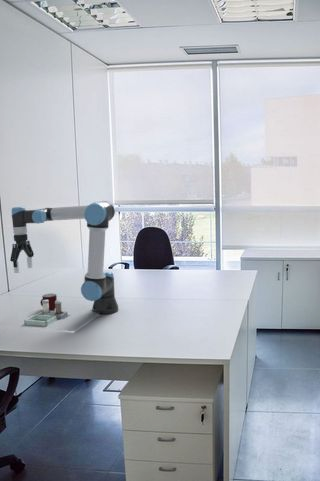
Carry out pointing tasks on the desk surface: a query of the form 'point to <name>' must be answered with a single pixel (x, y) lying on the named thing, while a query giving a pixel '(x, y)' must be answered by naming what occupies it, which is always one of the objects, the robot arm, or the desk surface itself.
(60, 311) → the fuse
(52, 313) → the block
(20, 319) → the desk surface
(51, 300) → the mug
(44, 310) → the fuse
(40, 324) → the tray
